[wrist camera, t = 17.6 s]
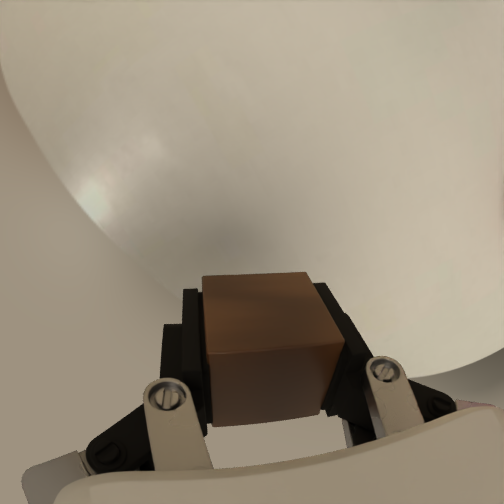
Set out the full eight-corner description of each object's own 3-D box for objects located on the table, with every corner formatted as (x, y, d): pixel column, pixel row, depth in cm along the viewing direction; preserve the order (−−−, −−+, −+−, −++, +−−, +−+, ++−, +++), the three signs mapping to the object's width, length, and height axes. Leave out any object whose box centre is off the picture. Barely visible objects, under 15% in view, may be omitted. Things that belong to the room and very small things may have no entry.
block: (205, 351, 13) (211, 428, 9) (201, 274, 11) (206, 353, 8) (293, 345, 13) (319, 415, 10) (306, 270, 12) (346, 340, 8)
